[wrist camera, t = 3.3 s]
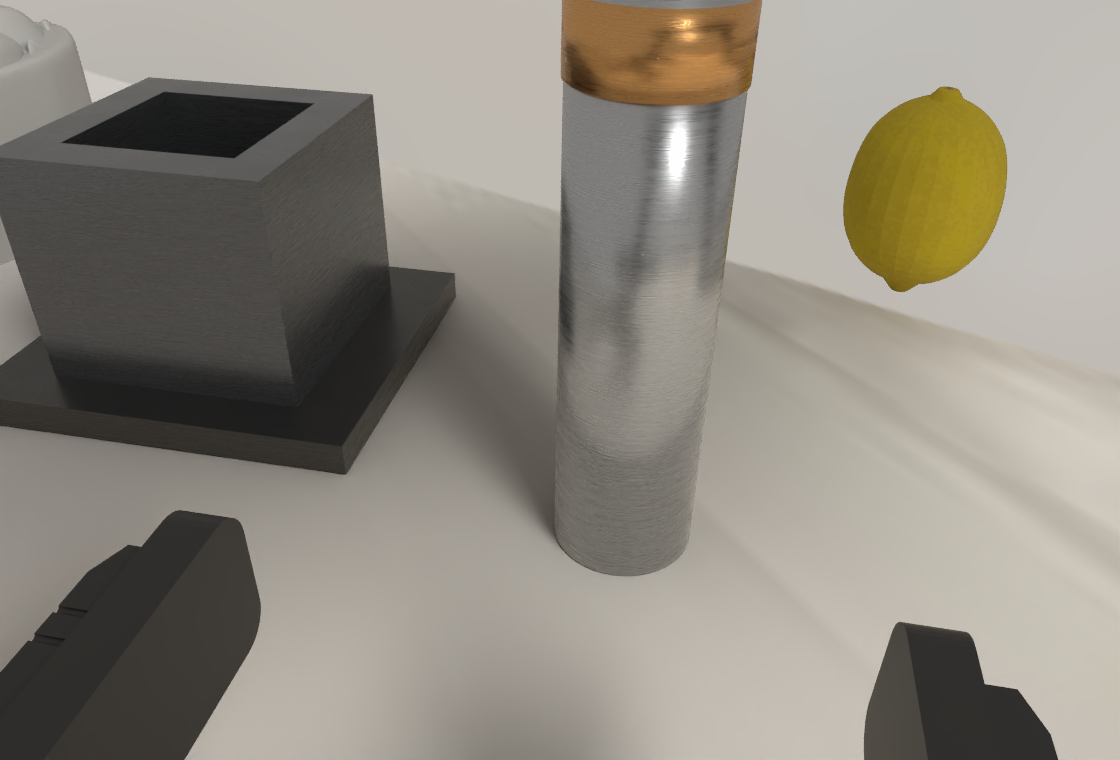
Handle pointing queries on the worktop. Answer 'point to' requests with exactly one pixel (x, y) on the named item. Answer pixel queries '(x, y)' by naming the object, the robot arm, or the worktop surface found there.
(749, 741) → the worktop surface
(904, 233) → the lemon
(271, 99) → the dark grey open bin
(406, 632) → the worktop surface
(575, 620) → the worktop surface
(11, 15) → the lumpy-topped squat cylinder
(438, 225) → the worktop surface
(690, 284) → the silver copper-banded cylinder
